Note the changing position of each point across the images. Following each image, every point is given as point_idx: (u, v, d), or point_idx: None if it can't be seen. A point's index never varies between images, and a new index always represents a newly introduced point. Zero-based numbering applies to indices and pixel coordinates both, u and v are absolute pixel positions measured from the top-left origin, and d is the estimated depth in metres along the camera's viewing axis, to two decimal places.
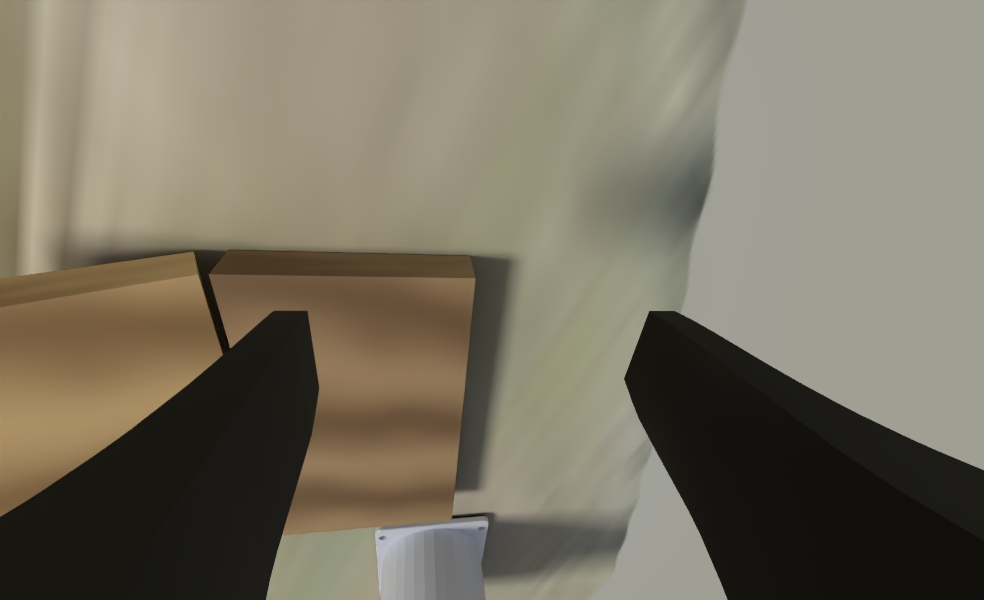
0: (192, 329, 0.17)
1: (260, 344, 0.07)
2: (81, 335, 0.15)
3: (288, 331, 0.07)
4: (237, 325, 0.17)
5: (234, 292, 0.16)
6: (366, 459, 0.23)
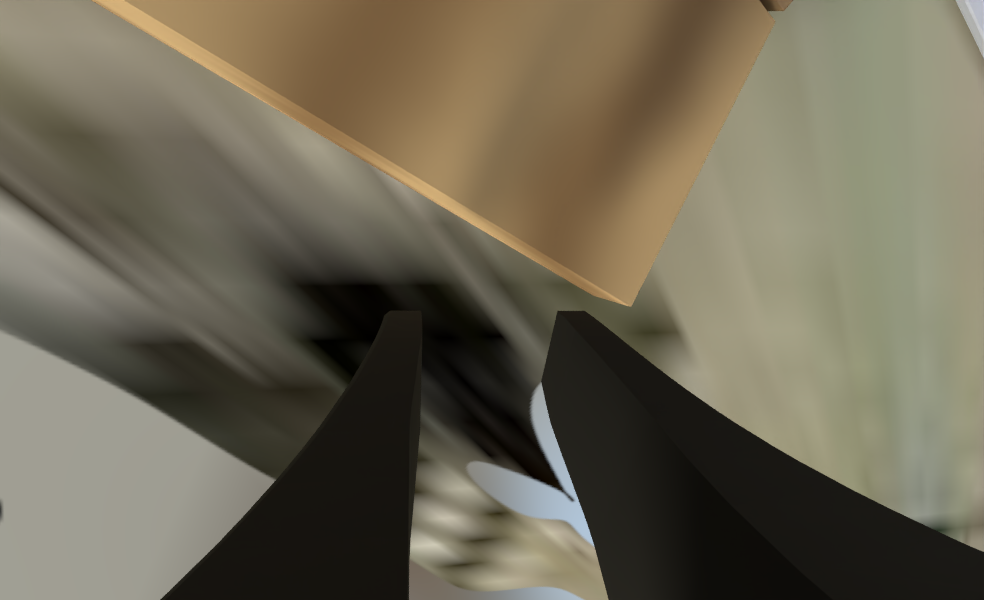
0: None
1: (400, 342, 0.07)
2: None
3: (418, 330, 0.07)
4: None
5: None
6: None
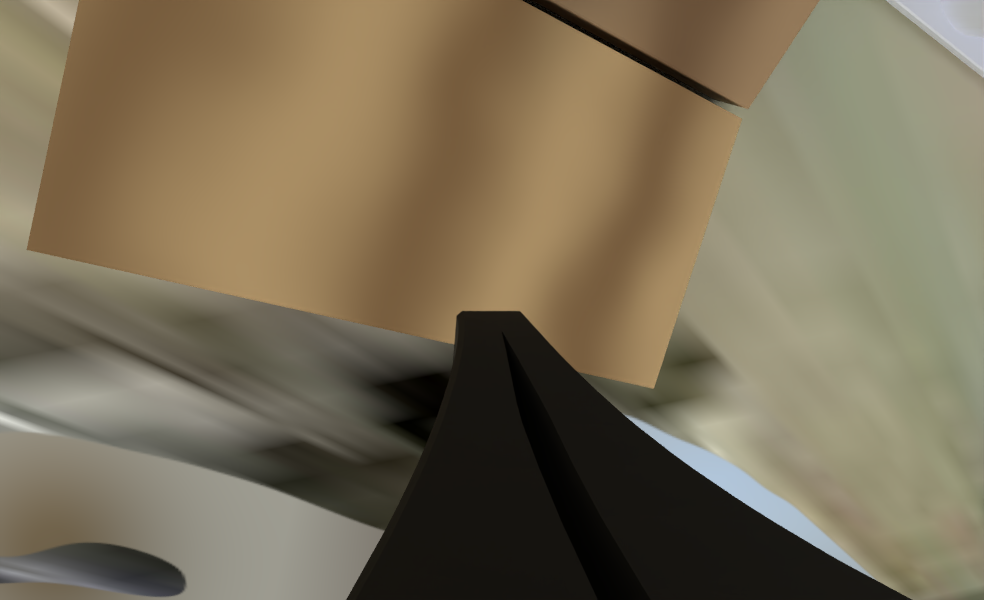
0: None
1: (485, 341, 0.07)
2: (170, 2, 0.10)
3: (497, 329, 0.08)
4: None
5: None
6: None
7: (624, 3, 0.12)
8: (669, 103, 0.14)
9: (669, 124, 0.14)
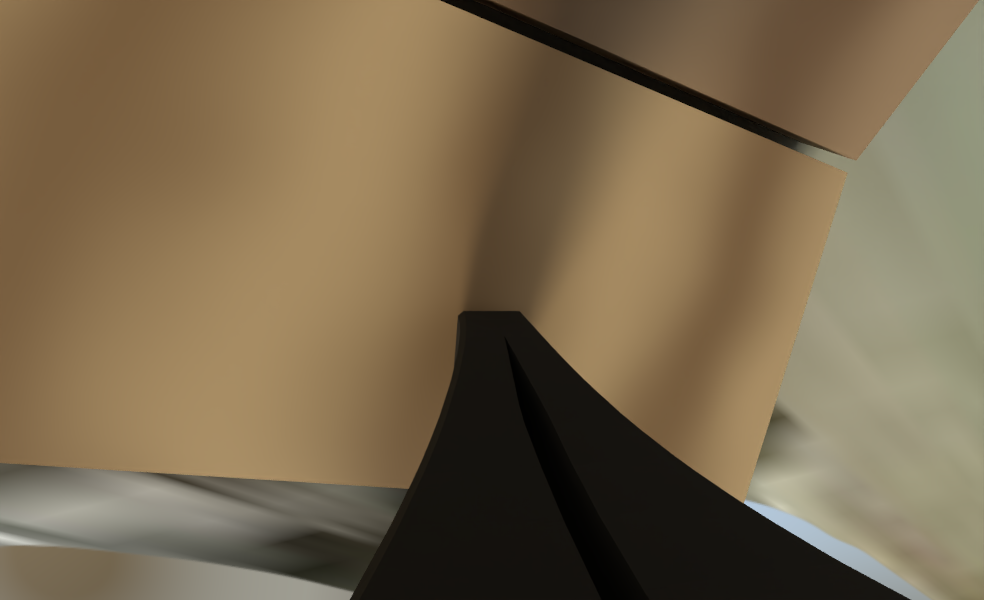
0: None
1: (487, 341, 0.07)
2: (98, 111, 0.07)
3: (499, 329, 0.08)
4: None
5: None
6: None
7: (704, 47, 0.09)
8: (758, 164, 0.11)
9: (758, 191, 0.11)
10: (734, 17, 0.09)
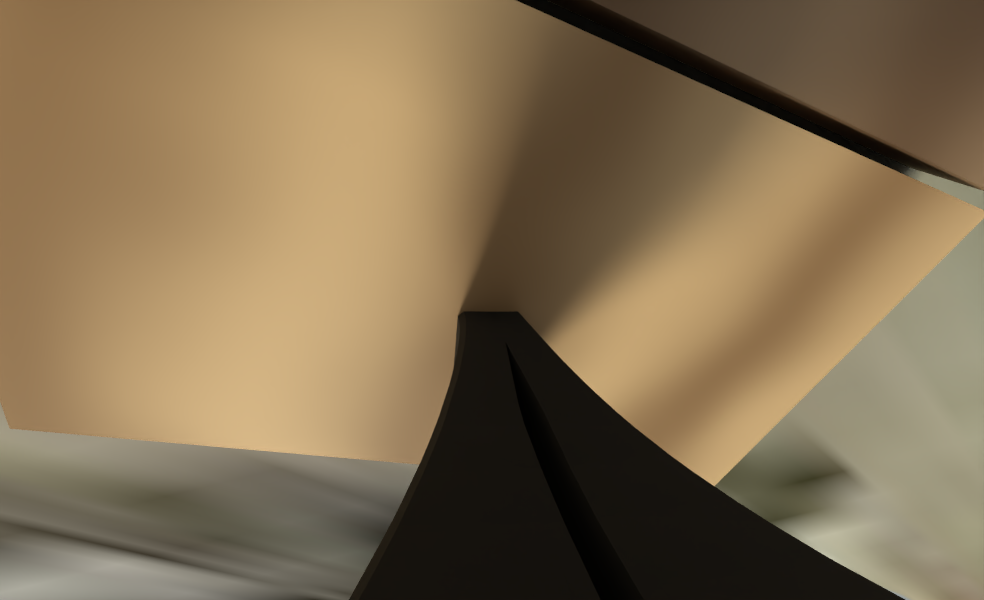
0: None
1: (486, 341, 0.07)
2: (48, 145, 0.06)
3: (498, 329, 0.08)
4: None
5: None
6: None
7: (837, 50, 0.07)
8: (868, 202, 0.08)
9: (853, 233, 0.09)
10: (884, 6, 0.06)
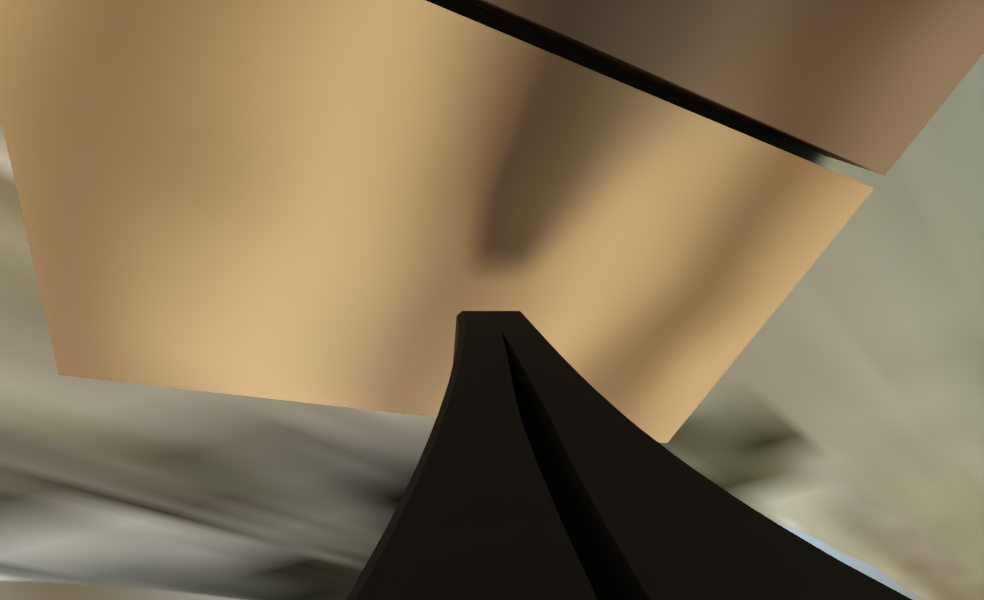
0: None
1: (485, 341, 0.07)
2: (110, 131, 0.08)
3: (497, 329, 0.08)
4: None
5: None
6: None
7: (727, 55, 0.08)
8: (770, 179, 0.10)
9: (762, 206, 0.11)
10: (760, 22, 0.08)
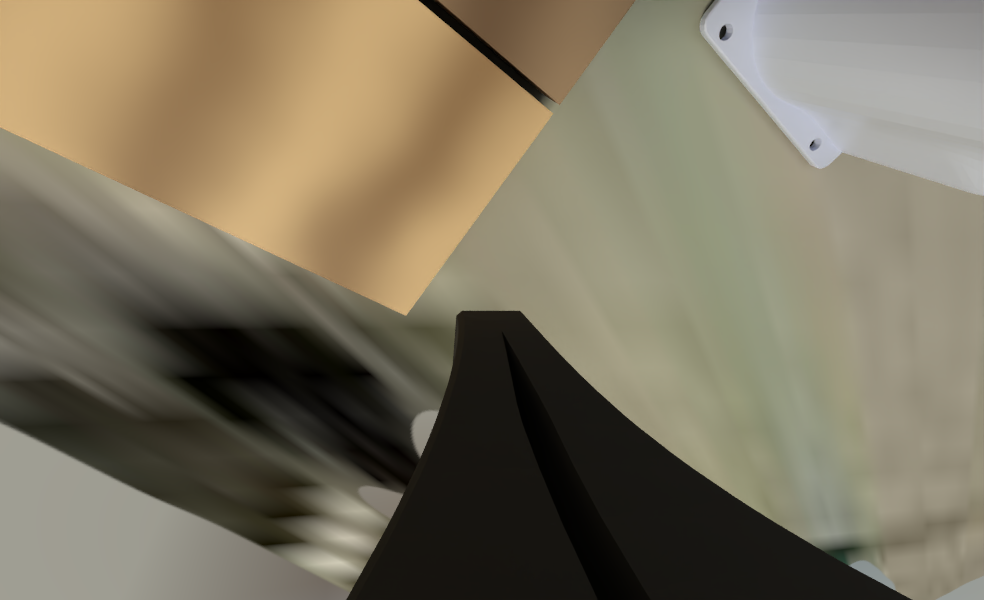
0: None
1: (485, 341, 0.07)
2: None
3: (497, 329, 0.08)
4: None
5: None
6: None
7: None
8: (471, 74, 0.14)
9: (466, 96, 0.14)
10: None
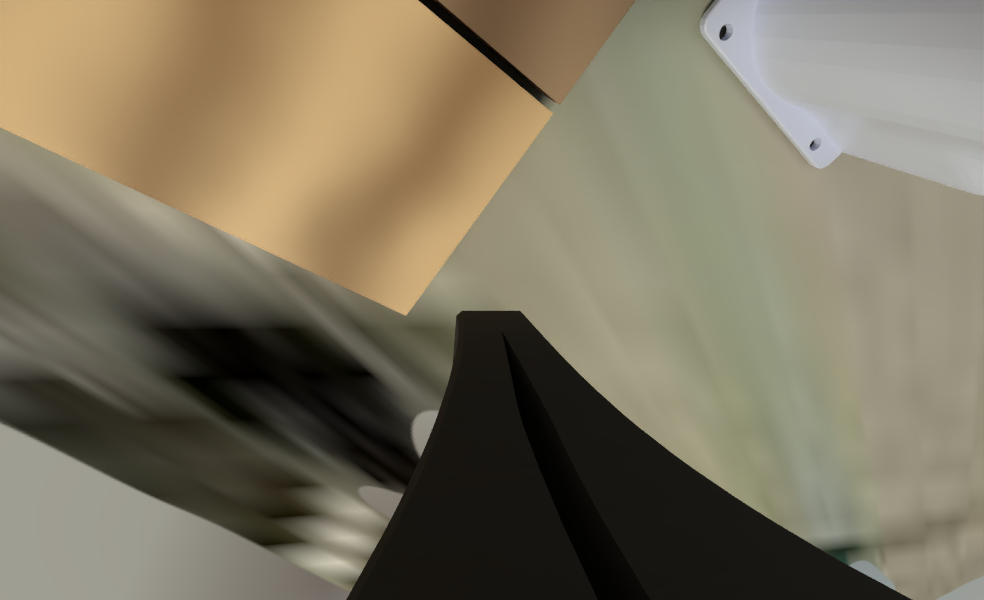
0: None
1: (485, 341, 0.07)
2: None
3: (497, 329, 0.08)
4: None
5: None
6: None
7: None
8: (471, 74, 0.14)
9: (466, 96, 0.14)
10: None
